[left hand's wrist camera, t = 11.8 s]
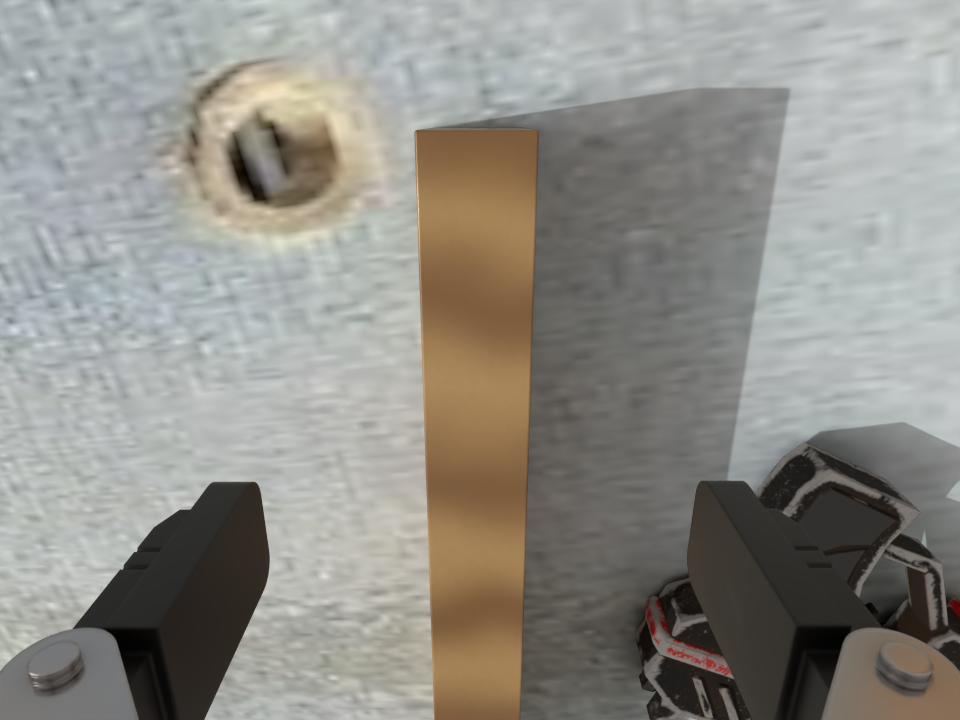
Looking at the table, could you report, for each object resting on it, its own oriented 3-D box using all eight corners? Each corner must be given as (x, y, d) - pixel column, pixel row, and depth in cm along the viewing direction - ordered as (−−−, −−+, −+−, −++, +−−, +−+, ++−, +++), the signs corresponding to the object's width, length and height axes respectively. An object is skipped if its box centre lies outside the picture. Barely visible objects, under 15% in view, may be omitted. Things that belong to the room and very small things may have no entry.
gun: (790, 460, 31) (615, 717, 38) (1276, 649, 35) (1038, 853, 42) (755, 419, 36) (604, 657, 42) (1192, 591, 39) (988, 785, 46)
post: (431, 127, 30) (414, 130, 22) (523, 127, 30) (539, 130, 22) (450, 876, 50) (444, 1021, 42) (505, 877, 50) (510, 1021, 42)
